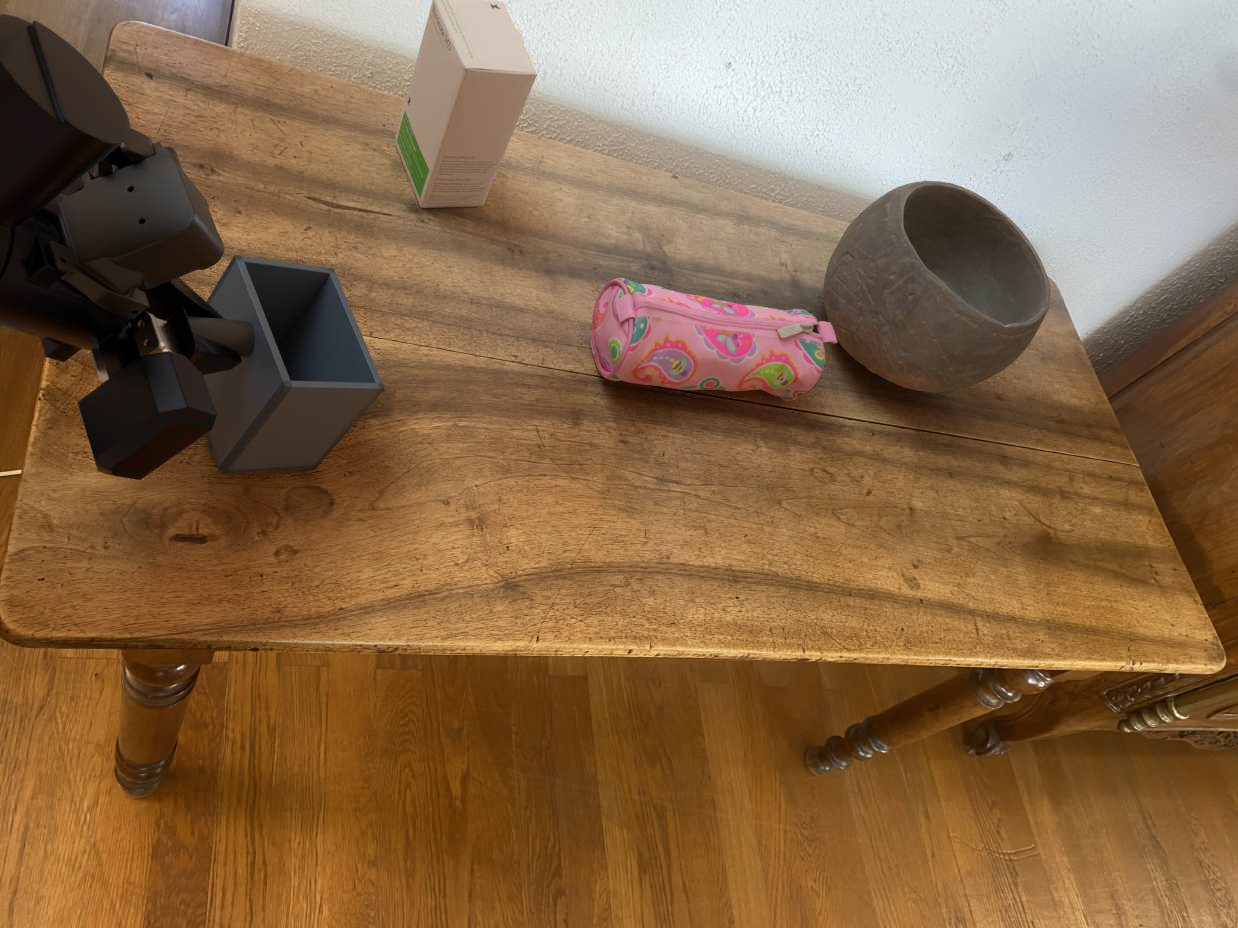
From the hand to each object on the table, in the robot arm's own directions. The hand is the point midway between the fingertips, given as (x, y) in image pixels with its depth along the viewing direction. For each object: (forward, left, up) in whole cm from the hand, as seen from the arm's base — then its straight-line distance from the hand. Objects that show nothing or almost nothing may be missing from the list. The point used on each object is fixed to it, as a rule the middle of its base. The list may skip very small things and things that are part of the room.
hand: (230, 346), depth 54 cm
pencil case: (+37, -14, -10) cm, 41 cm away
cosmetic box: (+29, +14, -10) cm, 34 cm away
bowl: (+61, -22, -10) cm, 66 cm away
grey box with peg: (-1, 0, -7) cm, 7 cm away
